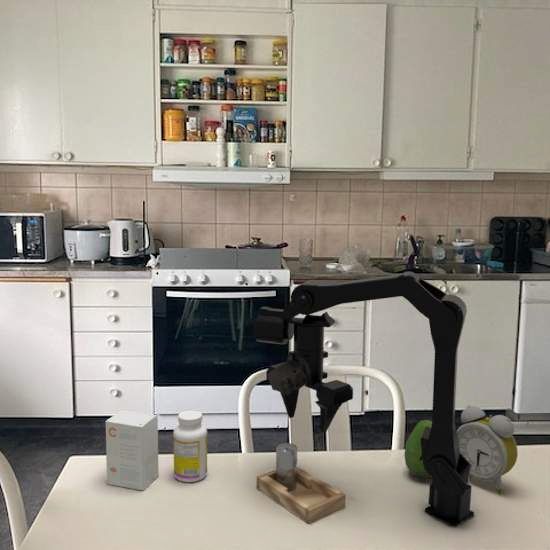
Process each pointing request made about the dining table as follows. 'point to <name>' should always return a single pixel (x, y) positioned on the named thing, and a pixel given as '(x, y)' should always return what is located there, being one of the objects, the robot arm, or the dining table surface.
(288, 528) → the dining table surface
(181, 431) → the supplement bottle
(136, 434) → the small box
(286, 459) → the grey metal peg
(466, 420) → the alarm clock
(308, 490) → the light brown wooden tray
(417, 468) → the avocado
